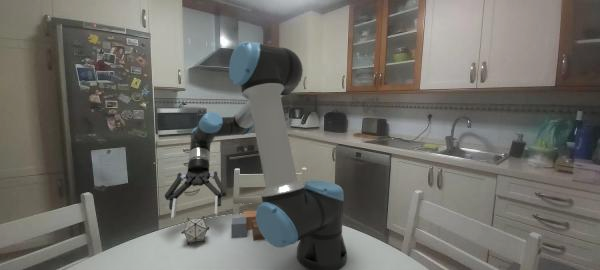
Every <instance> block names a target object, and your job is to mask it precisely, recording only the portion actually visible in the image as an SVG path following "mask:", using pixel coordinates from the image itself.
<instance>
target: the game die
mask: <svg viewBox="0 0 600 270" xmlns="http://www.w3.org/2000/svg"><path fill="white" fill-rule="evenodd" d="M186 219H187V223H186V225H185V228H184V229H183V230H182V231H181V234H184V235H185V238H186V240H187V245H188V246H189V245H190V243H195V242H202V243H206V241H205V237H206V234H207V231H209V230H210V227H209V226H207V224H206V223H207V222H206V221H205V220H204V219H205V215H204V216H202V217H200V218H192V219H190V217H187V218H186Z"/></svg>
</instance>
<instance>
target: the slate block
mask: <svg viewBox="0 0 600 270" xmlns="http://www.w3.org/2000/svg"><path fill="white" fill-rule="evenodd" d="M230 230H231V233H230V235H231V239H235V238H237V239H238V238H247V230H246V217H243V216H242V217H232V218H231V229H230Z"/></svg>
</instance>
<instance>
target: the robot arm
mask: <svg viewBox="0 0 600 270" xmlns="http://www.w3.org/2000/svg"><path fill="white" fill-rule="evenodd" d="M228 66H229V67H228V73H229V78H230V81H231V82H232V84H233V85H235V86H236V87H240V89H241V94H242V97H244V98H245V99H246V100H247V101H246V102H245V104H244V105H243V106H242V107H241V108H240V110H239V111H237V112H236V114H234V116H226V117H224V116H221V115H220V114H218V113H217V112H216V113H215V112H213V111H209V112H206V113H205V114H203V115H202V117H201V118H200V120H199V121H198V124H197V126H196V127H193V129H192V131H191V133H190V146H189V153H188V154H189V155H188V163H187V165H188V166H187V172H186V174H184V173H181V172H178V173H177V175H176V178H175V180H174V182H173V183H172V184H171V185H170V187H169V189H168V190H167V191H166V192H165V194H164V198H165V200H166V201H169V203H168V204H169V206H168V208H169V211H171V214H170V216H171V217H170V218H171V220H172V221H175V220H176V213H177V205H178V201H177V199H178V198H179V197H180V196H181V195H182V194H183V193H184V192H185V191H186V190H187V189H189V188H190V187H192V186H193V187H196V186H201V187H202V186H203V185H204V186H206V187H207V188H208V189H209V191H211V192H212V193H213V194H214V195H215V197H214V200H215V201H214V217H215V218H216V217H218V211H219V210H218V209H219V207H221V206H222V198H223V197H226V196H227V191H226V189H225V187H224V185H223V184H222V182H221V180H220V178H219V176H218V171H214V172H211V173H210V156H211V144H212V142H213V141H214V139H215V138H218V137H228V136H231V137H232V136H245V135H249V134H251V133H252V132H255V137H256V143H257V149H258V155H259V159H260V164H261V171H262V174H263V179H264V185H265V187H264V190H263V192H262V193H261V195H260V196H261V203H260V204H259V205H258V206H257V208H256V211H257V212H256V221H257V225H258V228H259V230H260V232H261V234H262V235H263V237H264V238H265V239H264V240H266V241H267V243H268V244H270V245H271V246H273V247H276V248H285V247H287V246H290V245H294V244H297V242H298V244H297V247H296V258H297V261H298V262H299V263H300V264H301V266H303V267H305V268H307V269H309V270H340V269H341V268H342V267H344V265H345V264H346V263H347V258H348V257H347V256H348V253H347V247H346V244H345V240H344V238H343V219H344V218H343V217H344V214H343V213H344V202H345V199H344V190H343V189H344V188H342V187H341V186H340V185H338V184H336V183H334V182H330V181H326V180H307V181H305V182H304V184H303V183H302V182H300V181H299V180H298V177H297V172H296V166H295V162H294V157H293V152H292V151H293V150H292V146H291V142H290V138H289V137H290V136H289V133H288V128H287V123H286V118H285V117H286V116H285V113H284V108H283V107H284V106H283V103H282V98H283V97H286V96H289V95H290V94H292V92H294V90H295V89H296V88H297V87H298V85H299V84H300V82H301V81H302V77H303V71H304V69H303V64H302V62H301V59H300V57H299V56H298V55H297V54H296V53H295V51H293V50H291V49H289V48H285V47H280V46H275V45H268V44H264V43H263V44H262V43H260V42H258V41H254V42H253V41H252V42H251V41H243V42H240V43H239V44H238V45H237V46H236V47H235V48H234V50H233V51H232V54H231V56H230V59H229V65H228ZM253 130H254V131H253ZM210 178H211V179H213V180H214V182H215V184H216V185H217V187H218V189H219V190H218V189H217V188H216V187H215V186H214V184H212V182H211V181H210V180H209V179H210ZM185 179H186V180H185ZM184 180H185V181H184ZM182 181H184V183H183V184H182V185H181V186H180V184H181V183H182ZM178 187H179V188H178Z"/></svg>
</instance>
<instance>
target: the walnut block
mask: <svg viewBox="0 0 600 270" xmlns="http://www.w3.org/2000/svg"><path fill="white" fill-rule="evenodd" d="M251 230H252V238H253V239H252V240H253V241H263V240H266V239H265V238H264V237H263V235H262V234H261V232H260V230H259V228H258V225H257V221H256V220H252V229H251Z"/></svg>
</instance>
